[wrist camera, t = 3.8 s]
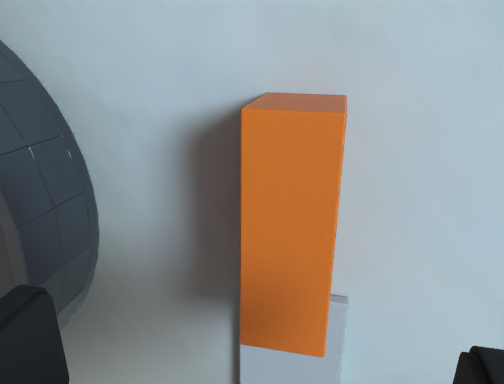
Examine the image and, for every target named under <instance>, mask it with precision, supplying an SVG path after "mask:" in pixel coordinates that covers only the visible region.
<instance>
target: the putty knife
mask: <svg viewBox="0 0 504 384" xmlns="http://www.w3.org/2000/svg"><path fill="white" fill-rule="evenodd" d="M346 118H347V98H346V96H343V95H317V94H290V93H265V94H263V95H262V96H260V97H259V98H257V99H255V100H254V101H252V102H251V103H249V104H247V105H246V106H244V107H243V108H241V187H240V384H340V377H341V368H342V359H343V350H344V341H345V332H346V324H347V315H348V306H349V299H348V297H342V296H335V295H330V292H331V281H332V270H333V259H334V248H335V237H336V227H337V216H338V205H339V194H340V183H341V173H342V162H343V151H344V140H345V129H346Z"/></svg>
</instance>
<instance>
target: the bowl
mask: <svg viewBox="0 0 504 384" xmlns="http://www.w3.org/2000/svg"><path fill="white" fill-rule="evenodd" d="M98 242H99V229H98V214H97V207H96V202H95V197H94V192H93V187H92V183H91V180H90V177H89V174H88V170H87V167H86V164H85V161H84V158H83V156H82V154H81V151H80V149H79V147H78V145H77V142H76V140H75V138H74V136H73V133H72V131H71V130H70V128H69V126H68V124H67V123H66V121H65V119H64V117H63V116H62V114H61V112H60V110H59V109H58V107H57V105H56V104H55V102H54V101H53V100H52V98H51V97H50V95H49V94H48V93H47V91H46V90H45V88H44V87H43V86H42V84H41V83H40V81H39V80H38V79H37V78H36V77H35V75H34V74H33V73H32V72H31V71H30V70H29V69H28V68H27V66H26V65H25V64H24V63H23V62H22V61H21V60H20V58H19V57H18V56H17V55H16V54H15V53H14V52H12V51H11V50H10V49H9V48H8V47H7V46H6V45H5V44H4V43H3V42H2V41H0V299H1V298H2V297H3V296H4V295H6V294H7V293H8V292H9V291H11V290H12V289H13V288H14V287H16V286H18V285H22V284H24V285H31V286H39V287H44V288H45V289H46V290H47V291H48V294H50V295H51V296H52V298H53V301H54V306H55V311H56V316H57V321H58V325H59V330H61V329H62V328H63V327H64V326H65V325H66V324H67V323H68V321H69V320H70V318H71V317H72V316H73V315H74V314H75V313H76V311H77V310H78V308H79V306H80V305H81V303H82V302H83V300H84V298H85V297H86V294H87V292H88V289H89V287H90V284H91V282H92V279H93V276H94V271H95V267H96V262H97V257H98Z"/></svg>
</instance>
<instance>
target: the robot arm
mask: <svg viewBox="0 0 504 384" xmlns="http://www.w3.org/2000/svg"><path fill="white" fill-rule="evenodd" d="M0 384H69V373H68V369H67V364H66V359H65V354H64V349H63V345H62V340H61V335H60V330H59V325H58V321H57V316H56V311H55V306H54V301H53V298H52V296H51V295H50V294H48V291H47V290H46V289H45V288H44V287H39V286H31V285H24V284H22V285H18V286H16V287H14V288H13V289H12V290H11V291H9V292H8V293H7V294H6V295H4V296H3V297H2V298H1V299H0ZM453 384H504V350H501V349H494V348H486V347H479V346H472V347H471V349H470V351H469V353H468V352H462V353H461V354H460V357H459V360H458V364H457V368H456V373H455V377H454V381H453Z"/></svg>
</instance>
